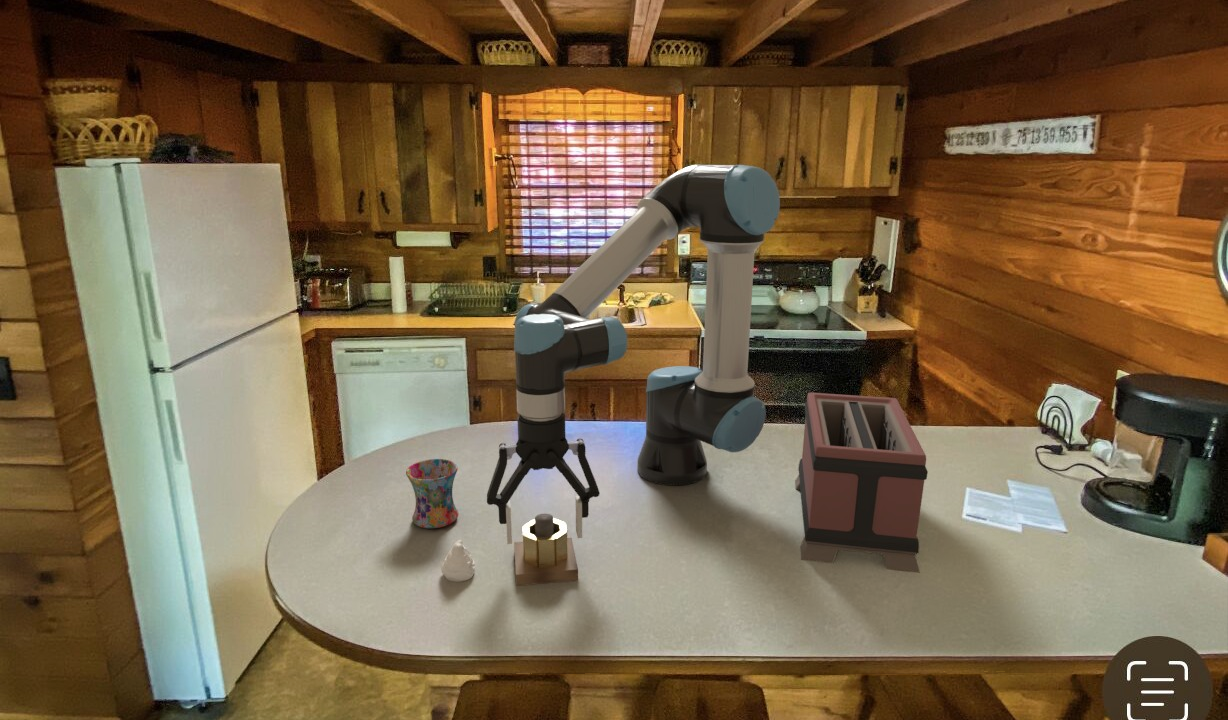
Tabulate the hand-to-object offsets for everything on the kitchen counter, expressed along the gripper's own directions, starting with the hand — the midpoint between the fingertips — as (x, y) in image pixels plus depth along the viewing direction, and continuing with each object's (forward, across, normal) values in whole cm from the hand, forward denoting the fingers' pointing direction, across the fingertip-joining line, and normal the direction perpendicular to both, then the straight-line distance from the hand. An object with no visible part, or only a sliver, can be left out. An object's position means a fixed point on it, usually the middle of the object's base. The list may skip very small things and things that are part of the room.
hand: (544, 536), depth 120 cm
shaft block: (+5, 0, 0) cm, 5 cm away
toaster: (+6, -59, -8) cm, 59 cm away
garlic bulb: (+6, +14, 0) cm, 15 cm away
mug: (+6, +19, -20) cm, 28 cm away
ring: (+3, 0, 0) cm, 3 cm away
